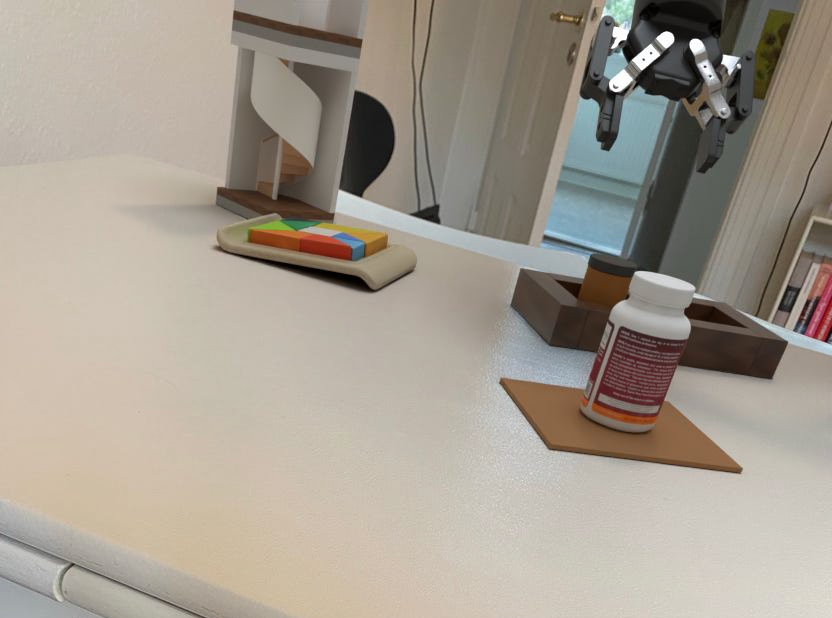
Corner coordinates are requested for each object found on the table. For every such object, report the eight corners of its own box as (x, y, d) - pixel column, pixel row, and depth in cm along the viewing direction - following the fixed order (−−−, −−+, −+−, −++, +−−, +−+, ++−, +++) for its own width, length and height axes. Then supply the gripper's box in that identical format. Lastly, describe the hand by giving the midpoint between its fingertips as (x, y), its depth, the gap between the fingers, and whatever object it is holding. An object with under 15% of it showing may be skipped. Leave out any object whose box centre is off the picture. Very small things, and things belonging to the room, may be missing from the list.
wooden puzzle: (275, 229, 112) (279, 199, 110) (418, 269, 109) (424, 238, 107) (210, 248, 98) (213, 213, 96) (372, 294, 94) (379, 259, 93)
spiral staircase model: (215, 203, 118) (247, -142, 99) (280, 207, 125) (322, -117, 105) (266, 227, 112) (311, -137, 93) (332, 229, 119) (386, -110, 99)
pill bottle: (668, 434, 73) (724, 295, 67) (611, 436, 70) (664, 290, 64) (619, 404, 77) (667, 270, 71) (562, 404, 74) (608, 265, 68)
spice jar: (602, 329, 101) (626, 258, 96) (619, 343, 97) (645, 270, 92) (561, 322, 100) (583, 250, 95) (576, 337, 96) (600, 262, 91)
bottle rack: (711, 336, 108) (725, 302, 106) (772, 379, 96) (789, 341, 94) (510, 304, 102) (520, 267, 100) (549, 345, 91) (561, 304, 89)
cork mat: (666, 405, 81) (668, 401, 81) (741, 473, 70) (743, 468, 70) (499, 381, 78) (500, 377, 78) (549, 448, 67) (551, 443, 66)
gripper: (738, 34, 82) (714, 200, 80) (587, -4, 81) (560, 164, 79) (785, -34, 75) (761, 147, 73) (621, -77, 73) (591, 107, 72)
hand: (656, 156), depth 76 cm, fingers open, 8 cm apart
